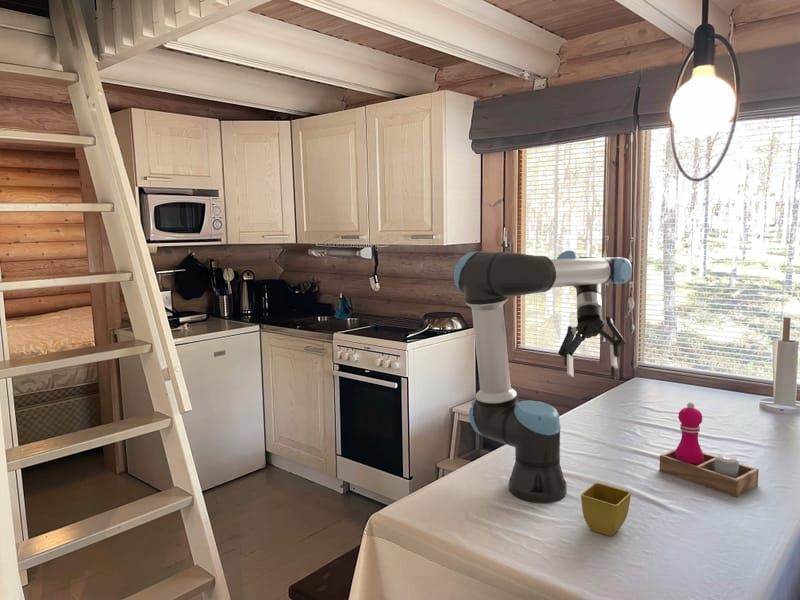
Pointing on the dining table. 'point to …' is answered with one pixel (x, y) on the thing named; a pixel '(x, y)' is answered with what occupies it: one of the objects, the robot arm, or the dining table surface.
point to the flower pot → (605, 508)
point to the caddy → (710, 474)
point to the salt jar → (727, 465)
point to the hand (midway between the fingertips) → (591, 371)
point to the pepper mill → (690, 436)
